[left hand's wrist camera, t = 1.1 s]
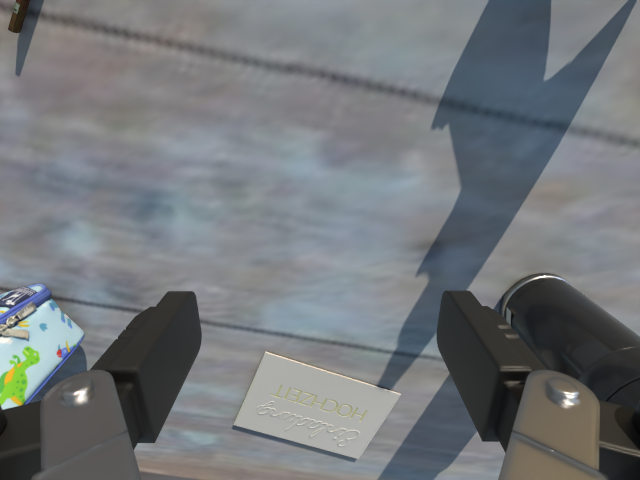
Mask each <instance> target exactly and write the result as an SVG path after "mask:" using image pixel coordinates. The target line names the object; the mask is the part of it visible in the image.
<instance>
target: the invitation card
mask: <svg viewBox="0 0 640 480" xmlns="http://www.w3.org/2000/svg"><path fill="white" fill-rule="evenodd" d="M400 395H401V394H399V393H396V392H393V391H390V390H387V389H383V388H380V387H377V386H374V385H371V384H367V383H364V382H361V381H358V380H355V379H351V378H348V377H345V376H342V375H339V374H335V373H332V372H329V371H326V370H323V369H319V368H316V367H313V366H310V365H307V364H303V363H300V362H297V361H294V360H291V359H287V358H284V357H281V356H278V355H275V354H271V353H268V352H265V354H264V356H263V358H262V360H261V363H260V365H259V367H258V370H257V372H256V374H255V376H254V379H253V381H252V383H251V386H250V388H249V390H248V392H247V395H246V397H245V399H244V402H243V404H242V406H241V408H240V411H239V413H238V415H237V417H236V420H235V422H234V425H236V426H239V427H243V428H247V429H250V430H254V431H258V432H261V433H265V434H269V435H272V436H276V437H279V438H283V439H287V440H290V441H294V442H298V443H301V444H305V445H309V446H312V447H316V448H320V449H323V450H327V451H331V452H334V453H338V454H342V455H345V456H349V457H353V458H356V459H359V458H360V456H361V455H362V453H363V452H364V450H365V449H366V447H367V446H368V444H369V443H370V441H371V440H372V438H373V436H374V435H375V433H376V432H377V430H378V429H379V427H380V426H381V424H382V423H383V421H384V420H385V418H386V417H387V415H388V414H389V412H390V411H391V409H392V408H393V406H394V405H395V403H396V402H397V400H398V398H399V397H400Z"/></svg>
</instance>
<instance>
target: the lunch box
mask: <svg viewBox="0 0 640 480" xmlns="http://www.w3.org/2000/svg"><path fill="white" fill-rule="evenodd" d="M50 297H51V292H50V291H49V290H48V289H47V288H46V287H45V286H44V285H42V284H35V285H31V286H28V287H18V288H17V289H15V290H13V291H10V292H7V293H4V294H2V295H0V405H1V407H2V409H8V408H12V407H17V406H21V405H25V404H28V403H29V402H30V401H31V400H32V399H33V398H34V396H35V395H36V394H37V393H38V392H39V391H40V390H41V389H42V387H43V386H44V385H45V384H46V383H47V382H48V380H49V379H50V378H51V377H52V376H53V375H54V374H55V372H56V371H57V370H58V369H59V368H60V367H61V366H62V365H63V364H64V362H65V361H66V360H67V359H68V358H69V356H70V355H71V354H72V353H73V352H74V351H75V349H76V348H77V347H78V346H79V344H80V343H81V341H82V340H83V338H84V332H83V331H82V329H81V328H80V327H78V326H77V325H76V324H75V323H74V322H73V321H72V320H71V319H70V318H69V317H68V316H67V315H66V314H65V313H63V312H62V311H60V309H59V307H58V305H57V304H56V303H55V301H53V300H52V299H51V298H50Z"/></svg>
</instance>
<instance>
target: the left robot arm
mask: <svg viewBox="0 0 640 480" xmlns="http://www.w3.org/2000/svg"><path fill="white" fill-rule="evenodd" d="M201 337H202V335H201V326H200V320H199V313H198V306H197V300H196V295H195V293H194V292H192V291H169V292H167V293H166V294H165V296H164V297H163V298H162V299H161V301H160V302H159V303H158V304H157V306H156V307H149V308H148V309H146V310H145V311H143V312H142V313H140V314H139V315H137V316H136V317H135V318H134V319H133V320H132V321H131V322H130V324H129V325H128V326H127V327H126V330H124V331H123V332H122V333H121V334H120V335H119V336H118V339H116V340H115V341H114V342H113V343H112V345H111V346H110V347H109V348H108V349H107V351H106V352H105V353H104V354H103V355H102V356H101V358H100V359H99V360H98V361H97V362H96V363H95V365H94V366H93V367H92V368H91V369H90V370H89V371H84V372H80V373H77V374H75V375H72V376H70V377H68V378H66V379H64V380H62V381H61V382H59V383H58V384H56V385H55V386H53V387H52V388H51V389H50V390H49V391H48V392H47V393H46V394H45V396H44V397H43V399H42V401H38V402H34V403H30V404H25V405H21V406H17V407H12V408H8V409H2V407H1V405H0V480H142V479H141V475H140V472H139V468H138V465H137V461H136V457H135V454H134V449H135V447H136V445H137V443H155V441H156V439H157V437H158V435H159V433H160V431H161V429H162V427H163V425H164V423H165V421H166V418H167V416H168V414H169V412H170V410H171V408H172V406H173V404H174V402H175V400H176V398H177V396H178V394H179V392H180V389H181V387H182V385H183V383H184V381H185V379H186V377H187V375H188V373H189V371H190V369H191V367H192V365H193V363H194V360H195V358H196V356H197V354H198V352H199V349H200V346H201ZM437 344H438V348H439V351H440V353H441V355H442V357H443V359H444V362H445V364H446V366H447V368H448V370H449V372H450V374H451V376H452V378H453V380H454V383H455V385H456V387H457V389H458V391H459V393H460V395H461V397H462V399H463V401H464V404H465V406H466V408H467V410H468V412H469V414H470V416H471V418H472V420H473V422H474V424H475V427H476V429H477V431H478V433H479V435H480V437H481V439H482V441H500V443H501V445H502V447H503V449H504V451H505V453H506V454H505V457H504V461H503V465H502V468H501V472H500V475H499V479H498V480H640V336H638V335H637V334H636V333H634V332H633V331H632V330H630V329H629V328H628V327H626V326H625V325H624V324H622V323H621V322H620V321H618V320H617V319H616V318H614V317H613V316H611V315H610V314H609V313H607V312H606V311H605V310H603V309H602V308H601V307H599V306H598V305H597V304H595V303H594V302H593V301H591V300H590V299H589V298H587V297H586V296H585V295H583V294H582V293H581V292H579V291H578V290H577V289H575V288H574V287H573V286H572V285H571V284H570V283H568V282H567V281H566V280H564V279H563V278H562V277H560V276H557V275H554V274H550V273H540V274H534V275H531V276H528V277H525V278H523V279H521V280H520V281H518V282H517V283H515V284H514V285H513V286H512V287H511V288H510V289H509V290H508V291H507V293H506V294H505V296H504V297H503V299H502V302H501V306H500V314H499V313H497V312H496V311H494V310H493V309H491V308H489V307H488V306H482V305H481V304H480V303H479V302H478V300H477V299H476V298H475V296H474V295H473V294H472V293H471V292H470V291H445V292H444V293H443V295H442V300H441V307H440V314H439V320H438V327H437Z"/></svg>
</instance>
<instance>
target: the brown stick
mask: <svg viewBox="0 0 640 480" xmlns="http://www.w3.org/2000/svg"><path fill="white" fill-rule="evenodd" d="M29 1H30V0H16V2H15V5H14V9H13V14H12V17H11V21H10V24H9V28H8V30H10V31H11V32H14V33H20V31H21V28H22V25H23V21H24V18H25V15H26V11H27V8H28V5H29Z"/></svg>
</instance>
